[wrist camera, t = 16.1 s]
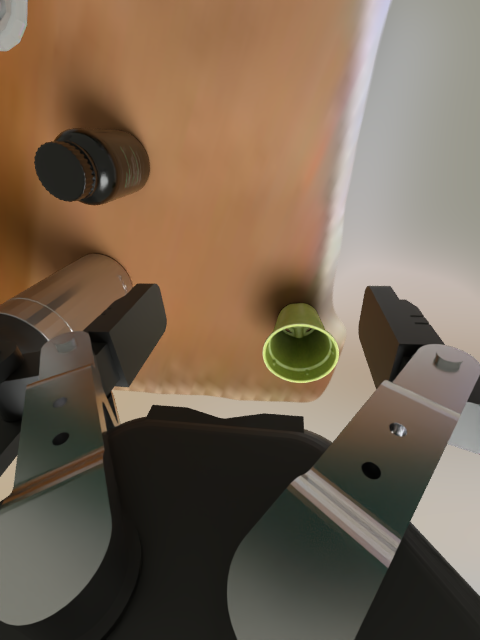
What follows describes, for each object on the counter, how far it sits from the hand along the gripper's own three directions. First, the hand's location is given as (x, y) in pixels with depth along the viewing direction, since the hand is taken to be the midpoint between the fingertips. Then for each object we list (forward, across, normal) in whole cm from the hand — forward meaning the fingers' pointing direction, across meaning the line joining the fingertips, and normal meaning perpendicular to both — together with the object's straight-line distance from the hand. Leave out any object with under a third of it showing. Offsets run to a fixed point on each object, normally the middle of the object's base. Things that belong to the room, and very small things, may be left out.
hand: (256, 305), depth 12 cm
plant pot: (+28, -3, +18) cm, 34 cm away
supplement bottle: (+28, +19, -4) cm, 34 cm away
